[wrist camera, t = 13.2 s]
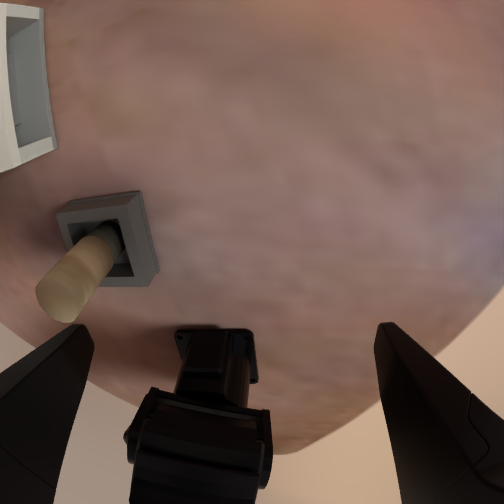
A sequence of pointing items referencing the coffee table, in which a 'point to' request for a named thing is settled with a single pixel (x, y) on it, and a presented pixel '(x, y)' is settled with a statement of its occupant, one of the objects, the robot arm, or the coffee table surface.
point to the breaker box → (23, 87)
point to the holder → (132, 227)
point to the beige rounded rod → (80, 272)
